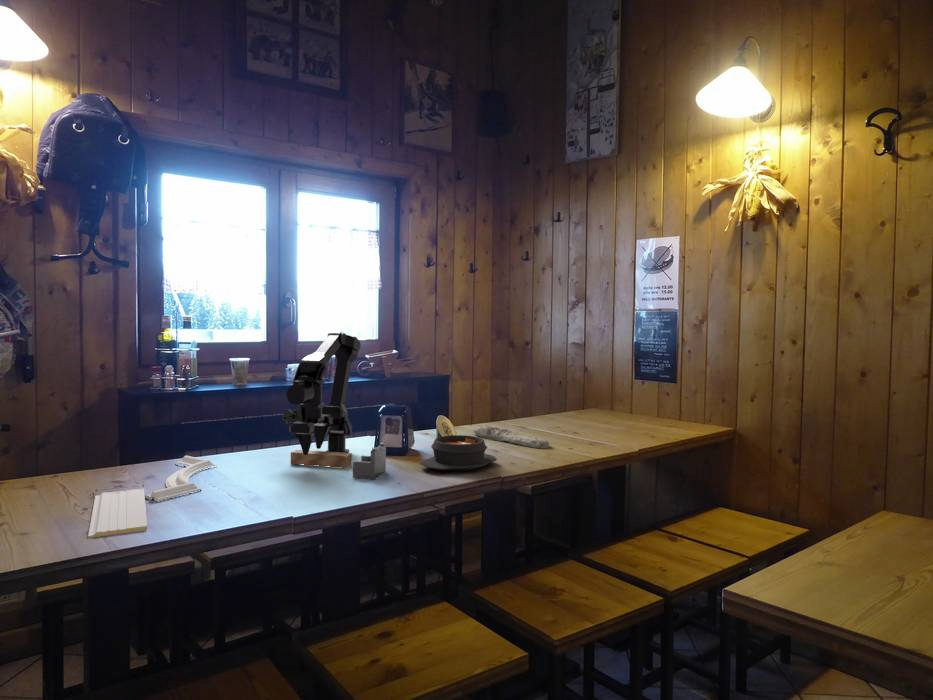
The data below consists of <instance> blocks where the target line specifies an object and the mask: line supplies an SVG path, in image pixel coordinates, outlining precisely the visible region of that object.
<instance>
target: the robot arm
mask: <svg viewBox="0 0 933 700" xmlns="http://www.w3.org/2000/svg"><path fill="white" fill-rule="evenodd" d="M360 349H361V340H359V339H358V337H357V336H352V335H348V334H346V333H344V332H342V331H338V332H337V331H330V332H328V333H327V337H326V339H325V340H323V342H322V344H320V345H319V347H318V348H317V349H316V350H315V352H313V353H311V354H308V355H306V356H305V357H303V358H302V359H301V360H300V362H299V363H298V366H297V368H296V372H295V375H294V377H293V380H292V385H291V386H290V387H288V389H287V390H286V391H287V392H286V393H285V394H286V399H287V401H288V402H289V403H290V404H292V405H293V406H294V405H295V406H297V405H298V409H295V410H293V409H291V408H289V409H285V410H283V414H282V417H281V419H282V421H284V422H285V424H286V425H289V424H290V425H289V427H288V429H289V433H291V435H292V436H295V437H296V438H297V439H298V441H299V445H300V447H301V450H302V451H303V454H304V455H308V452H309V450H310V449H311V445H312V442H313V438H315V439H314V440H315V447H316V450H317V449H318V450H320V449H321V448H322V445H323V443H324V441H325V439H326V437H327V450H324V451H325V452H340V453H349V452H350V449H348V448H346V441H347V440H346V439H347V438H346V437H347V436H351V435H352V431H353V426H352V424H351V422H350V420H349V413H348V412H349V411H348V410H347V408H346V405H345V404H346V397H347V394H348V386H349V380H350V373H351V369H352V363H354V361H355V360H356V359H357V357H358V355H359V351H360ZM333 356H334V357H335V358H336V364H335V369H334V370H335V371H334V376H333V381H332V387H331V391H330V399H329V403H328V404H326V405H325V403H324V402H323V385H324V384H325V381H324V379H323V378H325V376H326V373H327V371H328V369H329V368H328V363H329V361H331V359H332V357H333Z"/></svg>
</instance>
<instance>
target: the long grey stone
mask: <svg viewBox="0 0 933 700" xmlns="http://www.w3.org/2000/svg"><path fill="white" fill-rule="evenodd" d="M472 431H473V433H474V435H475V436H478V437H479V438H481V439H487V440H489V441H490V440H491V441H496V442H497V441H498V442H507V443H509V444H516V445H520V446H522V447H527V448H534V449H535V448H536V449H549V447H550V442H549V441H548V440H546V439H545V438H541V437H537V436H532V435H527V434H520V433H518V432H515V431H513V430H511V429H509V428H506V427H503V428H501V427H500V428H499V427H497V426H491V425H487V424H486V425H484V426H478V427H474V428H473V430H472Z"/></svg>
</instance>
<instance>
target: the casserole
mask: <svg viewBox="0 0 933 700" xmlns="http://www.w3.org/2000/svg"><path fill="white" fill-rule="evenodd" d="M430 447H431V449H432V451H433V456H431V457H429V458H426V459H423V460H420V461H419V464H420V465H421V466H423V467H426V468H429V469H433V470H439V471H440V470H441V471H444V470H446V471H452V472H468V471H473V470H476V469H479V468H483V467H485V466H486V465H487V466H488V465H489V464H491V463H493V462H496V461H497V460H498V458H497V457H496V456H493V455H490V454H487V453H486V450H487V449H488V446H487V445H486V442H485V440H484V438H482V437H479V436H478V437H477V436H473V435H463V434H459V435H458V434H456V435H455V434H453V435H444V436H439V437H435V438H434V442H433V444H431V446H430Z"/></svg>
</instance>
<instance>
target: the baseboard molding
mask: <svg viewBox="0 0 933 700" xmlns="http://www.w3.org/2000/svg"><path fill="white" fill-rule="evenodd" d="M144 486H145V485H144V484H142V487H144ZM133 487H135V488H136V487H138V485H137V486H133ZM118 488H123V489H125V488H126V489H127V487H126V486H125V487H124V484H123V485H117V486H116V485H114V486H113V489H118ZM103 490H107V488H106V489H102V491H103ZM95 492H98V489H95ZM95 492H92V494H91V493H89V496H90V498H92V499H93V498H94V500H93V507H92V513H91V517H90V524H89V528H88V535H87V538H88V539H92V538H99V537H107V536H113V535H114V536H115V535H121V534H128V533H130V534H131V533H137V532H143V531H145V532H146V531H147V529H148V518H147V508H146V499H145V496H146V494H145V488H137V489H127V490H118V491H110V492H106V491H105V492H101V494H99V495H95ZM91 495H92V497H91Z"/></svg>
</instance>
